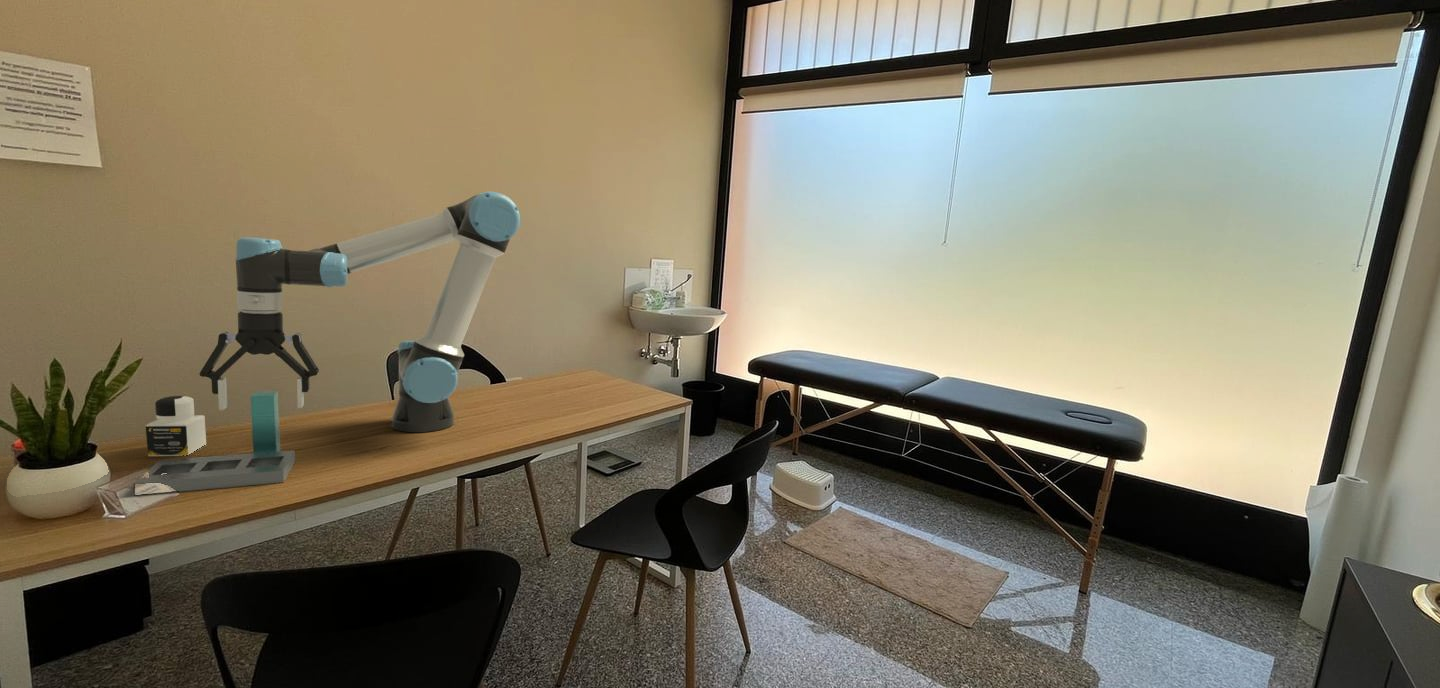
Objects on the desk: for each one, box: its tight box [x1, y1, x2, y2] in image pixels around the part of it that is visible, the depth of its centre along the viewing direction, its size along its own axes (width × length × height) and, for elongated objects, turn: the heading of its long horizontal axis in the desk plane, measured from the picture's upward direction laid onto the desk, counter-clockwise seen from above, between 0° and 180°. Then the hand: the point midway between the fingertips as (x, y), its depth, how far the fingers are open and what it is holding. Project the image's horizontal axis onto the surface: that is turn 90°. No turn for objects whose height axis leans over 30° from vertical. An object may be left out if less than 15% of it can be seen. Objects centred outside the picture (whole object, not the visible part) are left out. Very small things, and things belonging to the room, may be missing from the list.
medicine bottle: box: [145, 395, 207, 457], centre depth 126 cm, size 7×7×12 cm
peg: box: [250, 390, 281, 453], centre depth 127 cm, size 4×4×14 cm
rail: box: [133, 450, 296, 493], centre depth 115 cm, size 22×12×2 cm, turn 117°
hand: (262, 407), depth 127 cm, fingers open, 13 cm apart
